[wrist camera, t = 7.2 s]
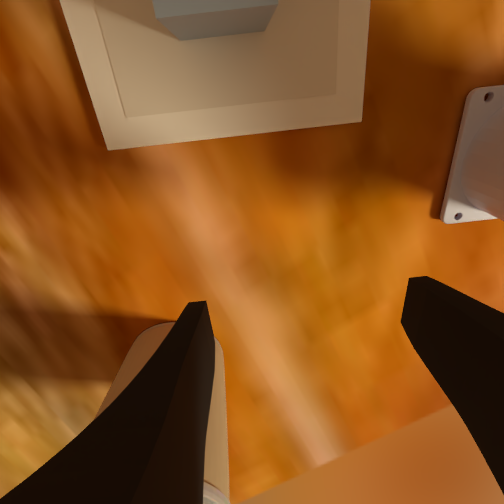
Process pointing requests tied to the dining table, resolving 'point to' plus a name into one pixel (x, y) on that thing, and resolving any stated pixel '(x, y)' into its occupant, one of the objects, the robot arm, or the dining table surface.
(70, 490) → the robot arm
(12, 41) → the dining table surface
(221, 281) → the dining table surface
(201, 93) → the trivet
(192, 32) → the block
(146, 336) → the coffee cup
